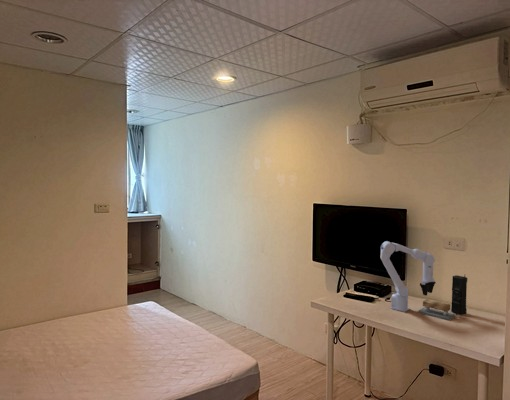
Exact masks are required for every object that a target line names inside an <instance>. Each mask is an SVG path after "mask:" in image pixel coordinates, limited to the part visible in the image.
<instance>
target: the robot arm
mask: <svg viewBox="0 0 510 400" xmlns="http://www.w3.org/2000/svg"><path fill="white" fill-rule="evenodd" d="M399 251H400V252H402V253H406V254H409V255H410V256H411V257H412V258H413V259H416V260H419V261H422V262H423V263H422V278H421V279H422V280H421V281H420V283H419V286H420V289H421V292H422V296H428V293H429V294H432V293H433V291H434V290H433V289H434V287H435V285H436V283H437V282H436V280H435V277H434V263H435V261H436V259H435V256H434V255H432V254H430V253H429V252H427V251H423V250H421V249H420V248H414V249H412V248H409V247H408V246H404V245H402V244H399V243H395V242H390V241H388V240H386V241H384V242H382V243H381V245H380V255H379V256H380V260H381V262H382V264H383V266H384V267H385V269H386V272H387V273H388V275H389V277H390V278H391V280H392V282H393V285H394V290H395V291H396V292H395V293H392V295H391V297H390V309H392V310H395V311H399V312H404V313H405V312H407V311H409V310H411V308H410V307H409V304H408V303H409V301H408V300H409V294H410V291H409V288H408V287H406V286H405V283H403V281H402V280H401V278H400V276H399V274H398V272H397V270H396V269H395V267H394V265H393V262H392V261H391V259H390V258H391V255H393V253H394V252H399Z"/></svg>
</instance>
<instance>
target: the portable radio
mask: <svg viewBox="0 0 510 400" xmlns="http://www.w3.org/2000/svg"><path fill="white" fill-rule="evenodd" d="M467 287H468V277H466V275H464V276H462V275H457V274H456V275H453V276H452V284H451V305H450V310H451V311H450V313H452V314H455V315H456V314H457V315H460V316H463V315H466V314H467Z"/></svg>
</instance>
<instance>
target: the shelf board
mask: <svg viewBox="0 0 510 400" xmlns="http://www.w3.org/2000/svg"><path fill="white" fill-rule="evenodd" d="M422 306H423V307H429V308H430V309H435V310H439V311H446V312H447V311H448V312H449V311H450V310H451V304H450V303H446V302H439V301H435V300H432V299H425V300H423V301H422Z"/></svg>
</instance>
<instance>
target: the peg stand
mask: <svg viewBox="0 0 510 400" xmlns="http://www.w3.org/2000/svg"><path fill="white" fill-rule="evenodd" d="M417 314H420V315H426V316H430V317H434V318H437V319H440V320H445V321H451V320H452V319H453V318H455V317H456V313H452V312H449V311H447V312H446V311H442V310H438V309H433V308H429V307H425V306H423V307H422V308H421V309H419V310H417Z"/></svg>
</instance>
